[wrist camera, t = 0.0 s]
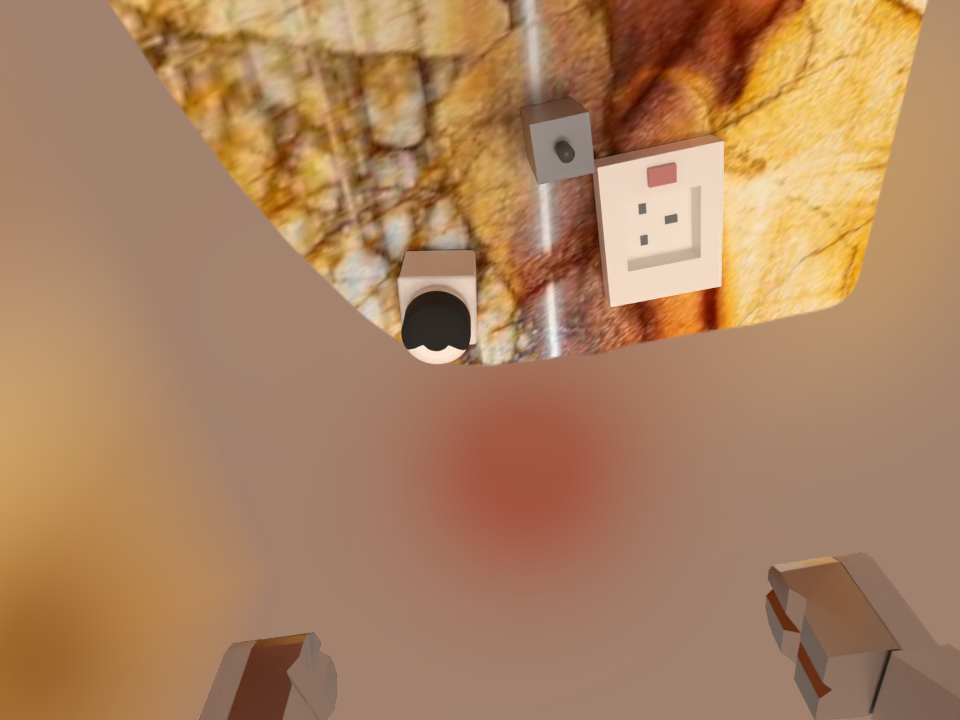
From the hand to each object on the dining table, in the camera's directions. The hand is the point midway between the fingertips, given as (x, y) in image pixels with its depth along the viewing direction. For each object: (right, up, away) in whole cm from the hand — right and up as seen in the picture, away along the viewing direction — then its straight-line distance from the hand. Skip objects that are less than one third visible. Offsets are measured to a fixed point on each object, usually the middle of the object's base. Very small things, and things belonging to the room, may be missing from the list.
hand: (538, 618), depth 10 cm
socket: (+16, +18, +45) cm, 52 cm away
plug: (+5, +26, +41) cm, 48 cm away
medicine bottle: (-5, +13, +49) cm, 50 cm away
